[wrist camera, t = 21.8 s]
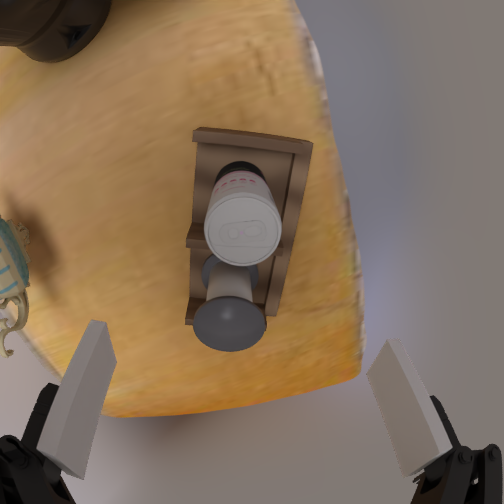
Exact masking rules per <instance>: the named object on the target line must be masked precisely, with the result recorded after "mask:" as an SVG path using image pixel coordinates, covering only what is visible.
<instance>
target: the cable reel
mask: <svg viewBox="0 0 504 504" xmlns="http://www.w3.org/2000/svg"><path fill="white" fill-rule="evenodd" d="M201 277H202V282H203V284H204V286H205V288H206V289H207V290H208V291H207V299H206V302H204V303H203V304H202V305H201V306H200V307H199V308H198V309H197V311H196V313H195V316H194V321H193V329H194V332H195V334H196V336H197V337H198V339H199V340H200V341H201V342H202V343H204V344H205V345H207V346H208V347H210V348H213V349H216V350H220V351H226V352H233V351H240V350H244V349H247V348H249V347H251V346H253V345H254V344H256V343H257V342H258V341H259V340H260V339H261V337H262V336H263V334H264V331H265V321H264V316H263V313H262V311H261V310H260V309H259V307H258V306H257V305H255V304H254V303H253V301H252V291H253V290H254V288H255V287H256V285H257V283H258V277H259V275H258V268H257V265H256V264H254V265H250V266H236V265H231V264H228V263H226V262H224V261H222V260H220V259H219V258H218V257H217V256H216V255H214V253H213V254H211V255H210V256H209V257H208V258H207V259H206V261H205V262H204V264H203V268H202V274H201Z"/></svg>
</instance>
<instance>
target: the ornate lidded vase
mask: <svg viewBox="0 0 504 504" xmlns="http://www.w3.org/2000/svg"><path fill="white" fill-rule="evenodd" d="M18 226H19V228H18V227H17V226H16V225H15V224H13V222H12V220H9V221H7V222H6V221H5V220H3V219H2V218H1V215H0V300H1V299H5V300H4V302H3V303H2V304H0V308H1V309H5V308H6V305H7V304H8V302H9V301H10V300H12V301H13V302H14V303H15V305H17V306H18V319H17V322H16V324H15V325H14V326H13V327H11V328H9V327H7V325H6V321H7V320H8V319H7V318H4V319H0V328H2V330H1V332H0V354H1V356H2V357H5V358H8V356H11V355H13V352H14V351H13V350H7V351H6V350H5V347H4V338H5V336H6V335H7V334H8V333H9V332H11V331H16V330H20V329H22V328H23V327H24V326H25V324H26V322H27V319H28V313H29V302H28V296H27V292H26V289H25V288H26V287H29V286H30V283H29V282H28V279H29V271H28V268H27V263H29V262H31V260H30V258H29V256H28V254H27V252H26V244H29V243H30V240H29V233H28V232H29V230H28V229H27V228H26V227H25V226H22V223H21V222H20V223H19V225H18ZM21 228H22V229H25V230H22V231H20V229H21ZM26 234H27V236H26ZM25 237H26V239H25V240H24V238H25Z"/></svg>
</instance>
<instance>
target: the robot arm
mask: <svg viewBox="0 0 504 504" xmlns="http://www.w3.org/2000/svg"><path fill="white" fill-rule="evenodd" d="M111 1H112V0H0V46H13V47H17V48H18V49H20V50H21V51H22V52H23V53H25V54H26V55H27V56H29V57H30V58H31V59H33V60H36V61H40V62H58V61H62V60H65V59H67V58H69V57H71V56H73V55H74V54H76V53H77V52H79V51H80V50H81V49H83V48H84V47H85V46H86V45H87V44H88V43H89V42H90V41H91V40H92V39H93V38H94V37H95V35H96V34H97V33H98V31H99V30H100V29H101V27H102V25H103V24H104V22H105V20H106V18H107V16H108V13H109V10H110V7H111ZM116 363H117V361H116V357H115V354H114V350H113V347H112V343H111V340H110V336H109V332H108V328H107V324H106V322H102V321H96V320H91V321H90V323H89V325H88V327H87V329H86V331H85V333H84V335H83V337H82V339H81V341H80V343H79V345H78V347H77V349H76V351H75V353H74V355H73V357H72V359H71V362H70V364H69V366H68V368H67V370H66V373H65V375H64V377H63V379H62V382H61V384H60V386H58V385H55V384H52V383H48V384H47V385H46V387H44V388H43V389H42V391H41V392H40V394H39V397H38V399H37V403H36V404H35V406H34V408H33V411H32V413H31V416H30V418H29V421H28V424H27V426H26V429H25V432H24V434H23V437H22V439H21V441H19V439H17V438H16V437H14V436H12V435H4V436H3V437H1V438H0V504H76V503H75V501H74V499H73V498H72V496H71V494H70V492H69V490H68V488H67V487H66V484H65V483H64V481H63V479H62V477H61V476H60V474H61V470H63V471H64V472H65V473H66V474H68V475H71V476H74V477H76V478H79V479H82V480H84V476H85V471H86V467H87V463H88V459H89V454H90V450H91V446H92V442H93V438H94V434H95V431H96V427H97V424H98V420H99V417H100V413H101V410H102V406H103V403H104V400H105V396H106V393H107V390H108V387H109V384H110V381H111V378H112V375H113V372H114V369H115V366H116ZM366 375H367V377H368V379H369V382H370V385H371V387H372V390H373V392H374V395H375V398H376V400H377V403H378V405H379V408H380V411H381V414H382V417H383V419H384V422H385V425H386V428H387V430H388V433H389V436H390V439H391V442H392V445H393V448H394V451H395V454H396V457H397V460H398V463H399V466H400V469H401V472H402V475H403V478H405V477H408V476H411V475H413V474H416V473H417V472H419V471H421V470H422V469H424V471H425V472H423V473H422V474H420V475H419V476H417V477H416V478H414V480H413V483H414V482H416V481H418V480H419V479H420V481H418V482H417V483H416V484H418V486H417V489H416V492H415V494H414V496H413V499H412V501H411V504H502V457H501V451H500V449H499V447H498V446H497V445H495V444H489V445H488V446H487V447H486V448H484V449H483V450H471V449H470V448H468V447H467V446H461V444H460V443H459V441H458V439H457V436H456V434H455V432H454V430H453V427H452V425H451V423H450V421H449V420H448V417H447V415H446V413H445V410H444V408H443V406H442V405H441V402H440V401H439V400H438V399H437V398H436V397H435V396H434V395H433V396H429V395H428V393H427V391H426V388H425V387H424V385H423V383H422V381H421V379H420V377H419V375H418V373H417V371H416V369H415V367H414V365H413V363H412V361H411V360H410V358H409V356H408V354H407V352H406V350H405V349H404V347H403V345H402V343H401V342H400V340H399V339H387V340H386V342H385V344H384V346H383V347H382V349H381V351H380V353H379V354H378V356H377V358H376V359H375V361H374V363H373V364H372V366H371V367H370V369H369V371H368V372H367V374H366ZM477 478H478V483H477V484H474V480H475V479H477Z"/></svg>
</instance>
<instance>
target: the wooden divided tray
mask: <svg viewBox="0 0 504 504" xmlns="http://www.w3.org/2000/svg"><path fill="white" fill-rule="evenodd" d="M192 142H198V146H197V157H196V169H195V182H194V196H193V212H192V223H191V226H190V229H189V232H188V235H187V238H186V248H191V255H190V297H189V302H188V307H187V312H186V318H185V325H193V321H194V316H195V313H196V311H197V309H198V308H199V307H200V306H201V305H202V304H203V303H204V302H206V299H207V291H208V290H207V289H206V288H205V286H204V284H203V282H202V277H201V274H202V268H203V264H204V262H205V261H206V259H207V258H208V257H209V256H210V255H211V254H213V252H212V251H211V249H210V248H209V246H208V244H207V241H206V238H205V234H204V223H205V218H206V214H207V210H208V206H209V203H210V199H211V195H212V191H213V187H214V184H215V180H216V177H217V175H218V173H219V171H220V170H221V169H222V168H223V167H224V166H226V165H227V164H229V163H232V162H235V161H246V162H249V163H252V164H254V165H255V166H257V167H258V168H259V169H260V170H261V171H262V173H263V175H264V177H265V180H266V182H267V185H268V187H269V190H270V192H271V195H272V197H273V200H274V202H275V205H276V208H277V210H278V213H279V215H280V218H281V223H282V232H281V237H280V241H279V244H278V246H277V248H276V249H275V251H274V252H273V253H272V254H271V255H270V256H269V257H268V258H266V259H265V260H263V261H262V262H260V263H257V264H256V265H257V268H258V275H259V277H258V283H257V285H256V287H255V288H254V290H253V291H252V301H253V303H254V304H255V305H257V306H258V307H259V309H260V310H261V311H262V313H263V316H264V321H265V331H266V327H267V321H266V316H276V315H277V310H278V306H279V302H280V298H281V294H282V290H283V286H284V281H285V277H286V273H287V268H288V264H289V260H290V255H291V251H292V246H293V242H294V237H295V232H296V228H297V223H298V218H299V214H300V209H301V204H302V199H303V194H304V189H305V184H306V179H307V174H308V169H309V164H310V158H311V153H312V148H313V143H312V142H310V141H306V140H301V139H295V138H289V137H283V136H276V135H270V134H262V133H255V132H247V131H238V130H228V129H218V128H206V127H199V128H198V129H196V130H194V131H193V140H192Z"/></svg>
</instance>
